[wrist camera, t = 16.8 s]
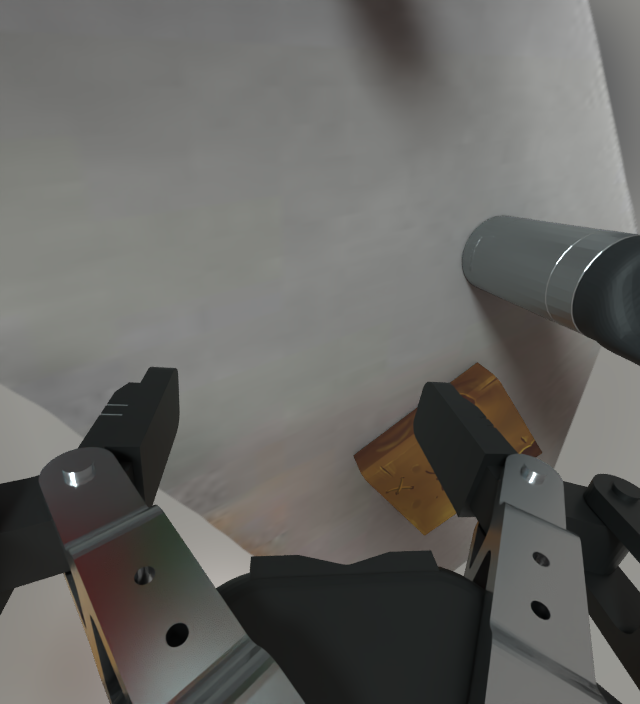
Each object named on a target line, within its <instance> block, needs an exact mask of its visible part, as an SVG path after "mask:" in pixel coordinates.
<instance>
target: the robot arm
mask: <svg viewBox="0 0 640 704" xmlns="http://www.w3.org/2000/svg"><path fill="white" fill-rule="evenodd" d="M462 267H463V271H464V274H465V276H466V278H467V280H468V281H469V282H470V283H471V284H473V285H474V286H476V287H478V288H480V289H482V290H484V291H487V292H489V293H491V294H493V295H495V296H497V297H500V298H502V299H504V300H506V301H509V302H511V303H513V304H515V305H517V306H520V307H522V308H524V309H526V310H529V311H531V312H533V313H535V314H538V315H540V316H542V317H544V318H547V319H549V320H551V321H553V322H555V323H558V324H560V325H562V326H565V327H567V328H569V329H571V330H574V331H576V332H578V333H580V334H583V335H585V336H587V337H589V338H591V339H593V340H595V341H597V342H598V343H599V344H600V345H601V346H603V347H604V348H606V349H607V350H609V351H611V352H613V353H615V354H617V355H619V356H621V357H623V358H625V359H628V360H630V361H632V362H634V363H635V364H637V365H639V366H640V235H638V234H631V233H624V232H617V231H609V230H602V229H595V228H588V227H581V226H574V225H567V224H560V223H553V222H546V221H539V220H532V219H526V218H519V217H512V216H496V217H493V218H491V219H488V220H487V221H485V222H483V223H482V224H481V225H480V226H479V227H477V228H476V229H475V231H474V232H473V233H472V234H471V236H470V237H469V239H468V241H467V243H466V245H465V248H464V251H463V257H462ZM178 424H179V384H178V371H177V369H176V368H162V367H150V368H149V369H148V371H147V372H146V374H145V376H144V378H143V379H142V381H141V383H130V382H129V383H128V384H126V385H125V386H123V387H122V388H120V389H119V390H117V391H116V392H115V393H114V394H113V396H112V397H111V399H110V400H109V402H108V403H107V406H105V408H104V409H103V411H102V412H101V415H99V417H98V418H97V420H96V421H95V423H94V424H93V426H92V427H91V429H90V430H89V432H88V433H87V435H86V436H85V438H84V440H83V441H82V443H81V444H80V446H79V447H78V449H74V450H71V451H68V452H66V453H63V454H61V455H59V456H57V457H56V458H55V459H53V460H51V461H50V462H49V463H48V464H47V465H46V466H45V467H44V468H43V469H42V471H41V473H40V475H38V476H35V477H31V478H27V479H22V480H17V481H12V482H7V483H2V484H0V615H1V613H2V611H3V609H4V607H5V605H6V603H7V601H8V599H9V597H10V595H11V594H12V592H13V590H14V588H16V587H19V586H22V585H26V584H29V583H32V582H35V581H38V580H42V579H45V578H48V577H51V576H55V575H58V574H61V573H63V574H64V577H65V580H66V582H67V585H68V588H69V590H70V593H71V596H72V598H73V601H74V604H75V606H76V609H77V612H78V614H79V617H80V620H81V622H82V625H83V628H84V630H85V633H86V636H87V638H88V641H89V644H90V647H91V650H92V653H93V657H94V659H95V663H96V666H97V669H98V672H99V675H100V678H101V681H102V684H103V686H104V689H105V692H106V694H107V697H108V700H109V703H110V704H622V703H620V702H619V701H618V700H617V699H616V698H614V697H613V696H612V695H611V694H610V693H609V692H607V691H606V690H605V689H604V688H602V687H601V686H600V685H599V684H598V683H596V680H595V673H594V664H593V663H594V662H593V653H592V643H591V634H590V624H589V615H590V617H591V618H592V620H593V621H594V623H595V624H596V625H597V627H598V628H599V630H600V631H601V633H602V635H603V636H604V637H605V639H606V641H607V642H608V644H609V645H610V646H611V648H612V650H613V651H614V653H615V654H616V656H617V657H618V658H619V660H620V662H621V663H622V664H623V666H624V668H625V669H626V670H627V672H628V674H629V675H630V677H631V678H632V680H633V681H634V683H635V684H636V685H637V687H638V689H639V690H640V592H639V591H638V590H637V588H636V587H635V586H634V585H633V583H632V582H631V581H630V580H629V579H628V577H627V576H626V575H625V574H624V572H623V571H622V570H621V569H620V568H619V566H618V565H619V564H620V563H621V561H622V560H623V559H624V557H625V556H626V555H627V553H628V552H629V551H630V553H631V554H632V555H633V556H634V557H635V558H636V560H637V561H638V562H639V563H640V488H638V487H637V486H635V485H634V484H632V483H630V482H628V481H626V480H624V479H621V478H619V477H616V476H613V475H608V474H598V475H595V477H594V478H593V479H592V481H591V482H590V484H589V486H588V487H585V486H581V485H576V484H573V483H569V482H564V481H563V480H562V478H561V477H560V475H559V474H558V473H557V472H556V471H555V470H554V469H553V468H552V467H551V466H549V465H548V464H546V463H545V462H543V461H541V460H539V459H537V458H535V457H532V456H529V455H525V454H518V453H517V451H516V450H515V449H514V448H513V447H512V446H511V445H510V443H509V442H508V441H507V440H506V439H505V438H504V437H503V435H502V434H501V433H500V432H499V431H498V430H497V428H494V425H493V424H492V423H491V422H490V420H489V419H487V417H486V416H485V415H484V414H483V412H482V411H481V410H480V409H479V408H478V407H477V406H476V405H474V404H473V403H471V402H470V401H468V400H467V399H465V398H463V397H462V396H461V395H460V393H459V392H458V391H457V390H456V389H455V387H454V386H453V385H452V384H451V383H443V382H427V383H426V384H425V385H424V388H423V391H422V394H421V397H420V401H419V404H418V407H417V411H416V414H415V418H414V422H413V430H414V435H415V438H416V440H417V442H418V443H419V445H420V447H421V449H422V451H423V453H424V454H425V456H426V458H427V460H428V462H429V464H430V465H431V467H432V469H433V471H434V473H435V475H436V476H437V478H438V480H439V482H440V484H441V486H442V487H443V489H444V491H445V493H446V495H447V497H448V498H449V500H450V502H451V504H452V506H453V508H454V509H455V511H456V513H457V515H458V517H476V518H477V520H478V522H477V524H476V527H475V529H474V533H473V537H472V542H471V546H470V551H469V555H468V560H467V564H466V569H465V573H464V576H462V575H460V574H458V573H455V572H453V571H451V570H448V569H445V568H442V567H438V566H437V564H436V561H435V559H434V557H433V554H432V552H431V551H402V552H388V553H385V554H382V555H378V556H375V557H372V558H369V559H366V560H363V561H360V562H357V563H354V564H350V565H343V564H338V563H333V562H329V561H324V560H319V559H315V558H310V557H305V556H300V555H284V556H254V557H251V563H250V573H247V574H244V575H241V576H239V577H236V578H234V579H232V580H230V581H228V582H226V583H224V584H222V585H221V586H219V587H217V588H215V587H214V585H213V584H212V582H211V581H210V579H209V578H208V576H207V575H206V573H205V572H204V570H203V569H202V567H201V566H200V565H199V563H198V562H197V560H196V559H195V557H194V556H193V554H192V553H191V551H190V550H189V548H188V547H187V545H186V544H185V543H184V541H183V539H182V538H181V537H180V535H179V534H178V532H177V531H176V529H175V528H174V526H173V525H172V523H171V522H170V521H169V519H168V518H167V516H166V515H165V513H164V512H163V510H162V509H161V508H160V507H159V506H158V505H153V502H154V499H155V496H156V493H157V490H158V487H159V484H160V481H161V478H162V475H163V472H164V469H165V466H166V463H167V460H168V457H169V454H170V451H171V448H172V445H173V442H174V439H175V436H176V433H177V429H178ZM152 505H153V506H152Z"/></svg>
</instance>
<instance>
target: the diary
mask: <svg viewBox="0 0 640 704" xmlns="http://www.w3.org/2000/svg"><path fill="white" fill-rule="evenodd" d="M451 384H452V385H453V386H454V387H455V389H456V390H457V391H458V392H459V393H460V395H461V396H462V397H463V398H465V399H467V400H468V401H470V402H471V403H473V404H474V405H476V406H477V407H478V408H479V409H480V410H481V411H482V412H483V414H484V415H485V416H486V417H487V419H489V420H490V422H491V423H492V424H493V425H494V428H497V430H498V431H499V432H500V433H501V434H502V435H503V437H504V438H505V439H506V440H507V441H508V442H509V443H510V445H511V446H512V447H513V448H514V449H515V450H516V451H517V453H518V454H525V455H529V456H532V457H535V458H536V457H537V456H539V455H540V454H541V453H542V451H541V450H540V448H539V446H538V445H537V443H536V441H535V440H534V438H533V436H532V434H531V433H530V431H529V429H528V428H527V426H526V424H525V423H524V421H523V419H522V418H521V416H520V414H519V413H518V411H517V409H516V408H515V406H514V404H513V402H512V401H511V399H510V397H509V396H508V394H507V392H506V391H505V389H504V387H503V386H502V384H501V382H500V381H499V380H498V379H497V378H496V377H495V376H494V375H493V374H492V373H491V372H490V371H488V370H487V369H486V368H484V367H483V366H482V365H480V364H479V363H478V362H477V363H476V364H475V365H473V366H472V367H471V368H469V369H468V370H467V371H465V372H464V373H463V374H461V375H460V376H459V377H457V378H456V379H455V380H453V381H452V382H451ZM416 411H417V408H416V409H415V410H413V411H412V412H411V413H409V414H408V415H407V416H405V417H404V418H403V419H401V420H400V421H399V422H397V423H396V424H395V425H393V426H392V427H391V428H389V429H388V430H387V431H385V432H384V433H383V434H381V435H380V436H379V437H377V438H376V439H375V440H373V441H372V442H371V443H369V444H368V445H367V446H365V447H364V448H363V449H361V450H360V451H359V452H357V453H356V454H355V455H354V458H355V461H356V463H357V465H358V467H359V470H360V472H361V474H362V475H363V477H364V478H365V480H366V481H367V482H368V483H369V484H370V485H371V486H372V487H373V488H375V489H376V490H377V491H378V492H379V493H380V494H381V495H382V496H383V497H384V498H385V499H386V500H387V501H388V502H389V503H390V504H392V505H393V506H394V507H395V508H396V509H397V510H398V511H399V512H400V513H401V514H402V515H403V516H404V517H405V518H406V519H408V520H409V521H410V522H411V523H412V524H413V525H414V526H415V527H416V528H417V529H418V530H419V531H420V532H421V533H422V534H423V535H426V534H428V533H429V532H430V531H432V530H433V529H435V528H436V527H438V526H439V525H440V524H442V523H443V522H445V521H446V520H448V519H449V518H450V517H452V516H453V515H455V514H456V511H455V509H454V508H453V506H452V504H451V502H450V500H449V498H448V497H447V495H446V493H445V491H444V489H443V487H442V486H441V484H440V482H439V480H438V478H437V476H436V475H435V473H434V471H433V469H432V467H431V465H430V464H429V462H428V460H427V458H426V456H425V454H424V453H423V451H422V449H421V447H420V445H419V443H418V442H417V440H416V438H415V435H414V430H413V422H414V418H415V414H416Z"/></svg>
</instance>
